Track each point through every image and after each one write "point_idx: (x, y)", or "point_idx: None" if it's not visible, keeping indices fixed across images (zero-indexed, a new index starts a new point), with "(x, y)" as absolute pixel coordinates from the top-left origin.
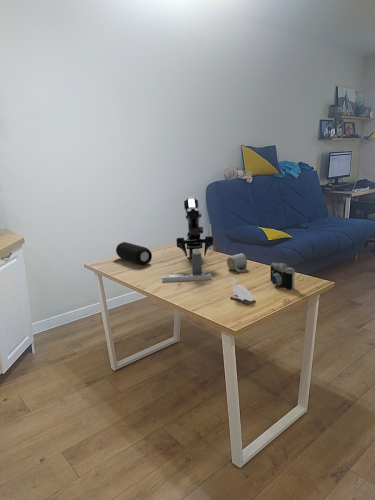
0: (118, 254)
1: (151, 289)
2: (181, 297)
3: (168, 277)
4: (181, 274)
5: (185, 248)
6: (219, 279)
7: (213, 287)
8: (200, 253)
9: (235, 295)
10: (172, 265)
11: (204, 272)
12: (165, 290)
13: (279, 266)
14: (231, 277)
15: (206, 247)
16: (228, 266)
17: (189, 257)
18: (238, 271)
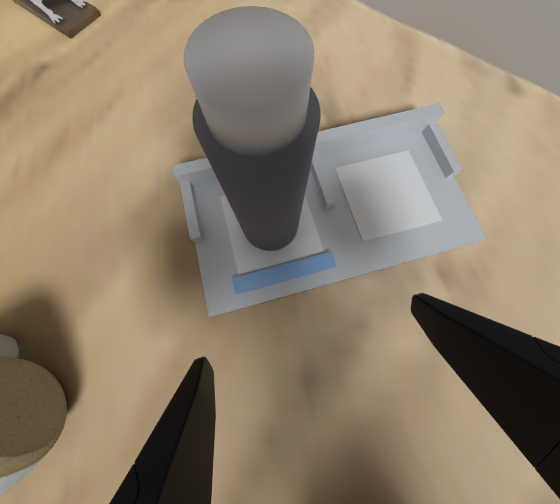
0: None
1: (431, 57)
2: (280, 7)
3: (408, 111)
4: (371, 236)
5: (543, 362)
6: (142, 199)
7: (168, 100)
8: (204, 130)
9: (74, 20)
10: (538, 476)
11: (234, 277)
12: (367, 54)
13: None
14: None
15: (122, 498)
16: (58, 411)
17: None
18: (10, 337)
